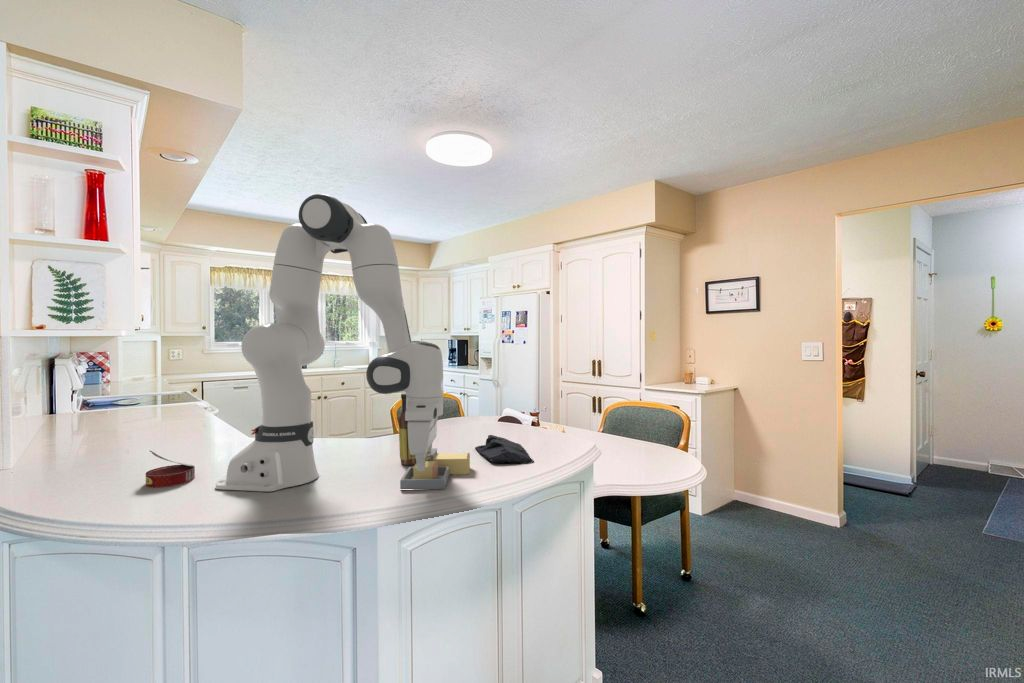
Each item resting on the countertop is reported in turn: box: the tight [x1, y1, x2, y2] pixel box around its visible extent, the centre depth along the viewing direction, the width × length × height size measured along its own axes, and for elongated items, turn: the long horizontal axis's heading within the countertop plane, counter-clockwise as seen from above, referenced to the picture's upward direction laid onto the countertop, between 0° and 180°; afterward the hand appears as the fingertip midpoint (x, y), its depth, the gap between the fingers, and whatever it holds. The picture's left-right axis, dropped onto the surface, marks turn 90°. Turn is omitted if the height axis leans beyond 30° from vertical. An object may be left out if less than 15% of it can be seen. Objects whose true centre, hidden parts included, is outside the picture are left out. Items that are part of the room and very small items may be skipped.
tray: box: [399, 466, 450, 490], centre depth 111 cm, size 10×11×2 cm
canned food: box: [145, 450, 196, 489], centre depth 114 cm, size 11×10×10 cm
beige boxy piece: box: [425, 447, 471, 475], centre depth 121 cm, size 12×8×5 cm, turn 92°
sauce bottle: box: [398, 392, 417, 466], centre depth 129 cm, size 7×6×20 cm
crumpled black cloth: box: [474, 434, 534, 464], centre depth 138 cm, size 15×22×5 cm
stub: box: [413, 461, 438, 479], centre depth 111 cm, size 5×6×4 cm
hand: (424, 464), depth 111 cm, fingers open, 8 cm apart
